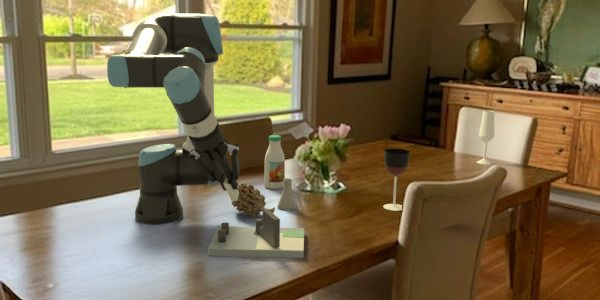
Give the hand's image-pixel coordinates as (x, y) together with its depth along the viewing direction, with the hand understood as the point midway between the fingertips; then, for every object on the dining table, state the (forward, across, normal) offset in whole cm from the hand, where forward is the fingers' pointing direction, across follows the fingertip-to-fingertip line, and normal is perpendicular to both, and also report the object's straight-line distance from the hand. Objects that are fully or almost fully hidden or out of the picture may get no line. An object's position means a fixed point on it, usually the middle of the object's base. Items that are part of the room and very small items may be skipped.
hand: (235, 197), depth 154 cm
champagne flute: (+99, +67, +104) cm, 159 cm away
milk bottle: (+52, -13, +54) cm, 76 cm away
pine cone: (+34, -10, +23) cm, 42 cm away
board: (+23, -2, +3) cm, 24 cm away
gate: (+21, +2, +3) cm, 21 cm away
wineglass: (+53, +33, +40) cm, 74 cm away
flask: (+42, -2, +34) cm, 54 cm away
